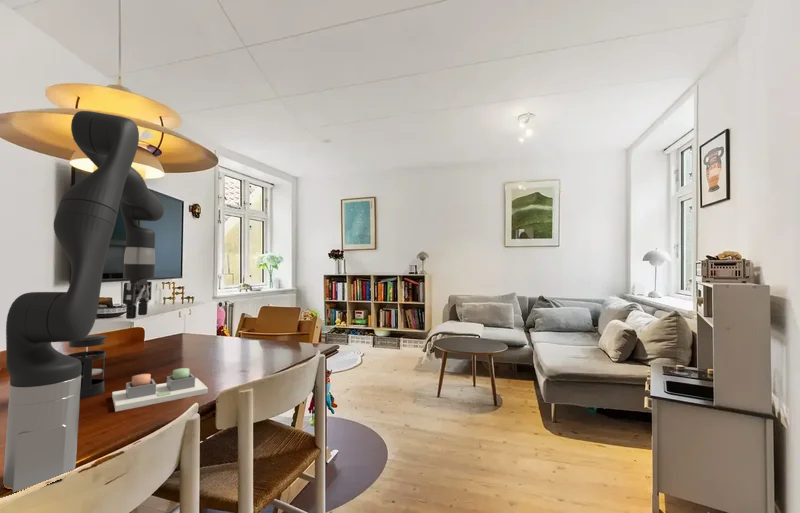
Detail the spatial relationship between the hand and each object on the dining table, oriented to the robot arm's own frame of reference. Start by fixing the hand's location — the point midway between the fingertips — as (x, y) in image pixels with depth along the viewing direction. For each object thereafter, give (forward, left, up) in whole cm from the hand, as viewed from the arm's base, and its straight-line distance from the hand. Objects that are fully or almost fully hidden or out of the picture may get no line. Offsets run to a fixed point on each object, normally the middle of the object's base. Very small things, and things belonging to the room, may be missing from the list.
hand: (137, 316), depth 104 cm
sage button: (-4, -11, -20) cm, 23 cm away
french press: (+11, +11, -24) cm, 28 cm away
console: (-4, -6, -24) cm, 25 cm away
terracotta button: (-4, -1, -20) cm, 20 cm away
